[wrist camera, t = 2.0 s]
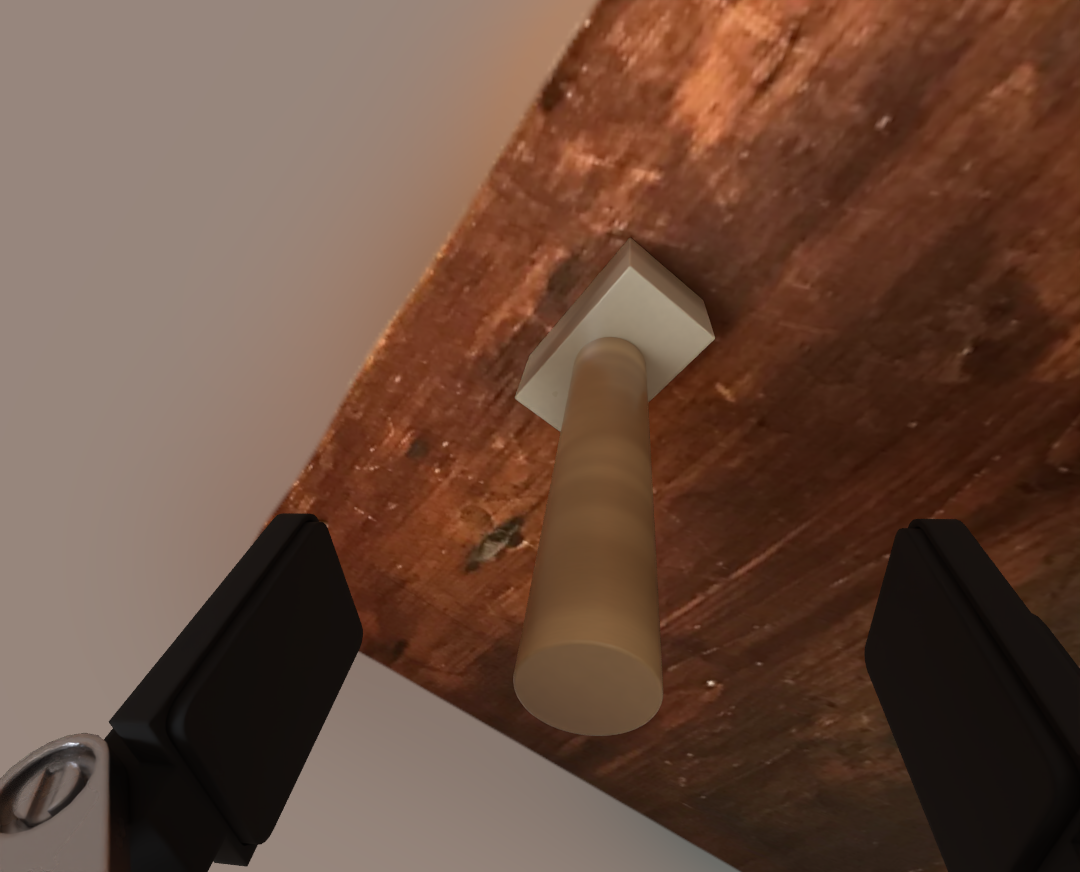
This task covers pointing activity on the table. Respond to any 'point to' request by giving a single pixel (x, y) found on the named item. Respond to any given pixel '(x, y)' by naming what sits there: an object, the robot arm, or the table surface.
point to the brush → (603, 497)
